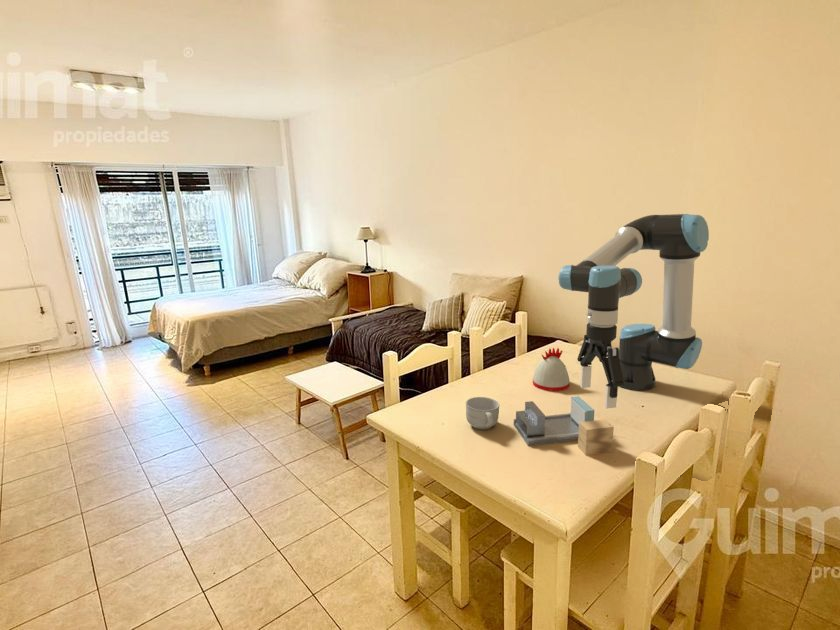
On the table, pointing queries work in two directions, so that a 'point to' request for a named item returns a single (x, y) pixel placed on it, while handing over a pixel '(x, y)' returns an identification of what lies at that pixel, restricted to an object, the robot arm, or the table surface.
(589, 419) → the block
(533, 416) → the fixed jaw
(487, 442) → the table surface
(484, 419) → the teacup
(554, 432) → the vise bed
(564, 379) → the white and red dome
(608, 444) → the oak block
